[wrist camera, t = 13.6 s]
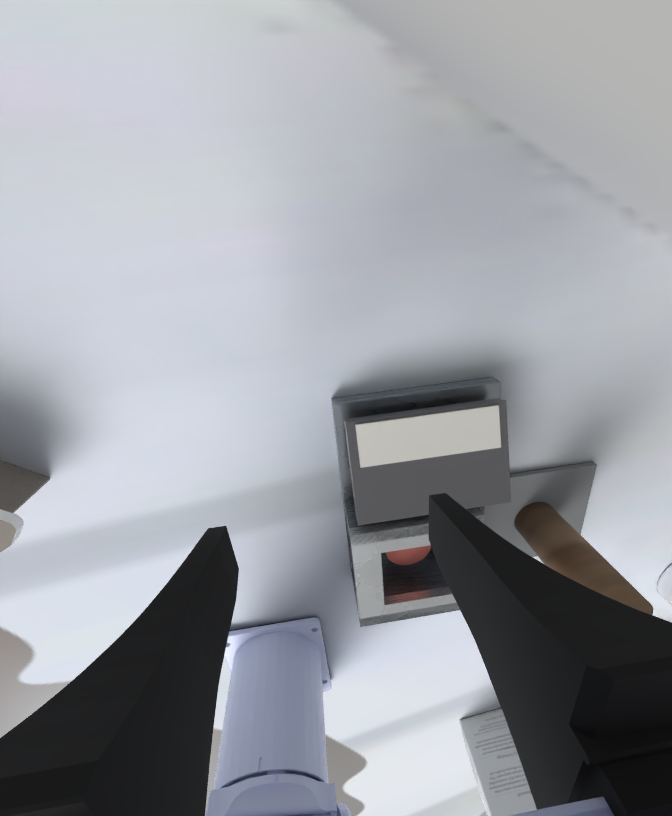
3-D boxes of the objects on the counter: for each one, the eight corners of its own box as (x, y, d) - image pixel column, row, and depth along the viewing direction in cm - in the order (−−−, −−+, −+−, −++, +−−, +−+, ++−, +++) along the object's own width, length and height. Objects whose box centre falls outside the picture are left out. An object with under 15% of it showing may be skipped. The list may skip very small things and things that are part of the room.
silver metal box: (477, 556, 28) (504, 602, 24) (351, 576, 27) (360, 626, 24) (492, 376, 22) (532, 401, 18) (331, 398, 21) (338, 428, 18)
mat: (573, 545, 28) (576, 549, 28) (476, 561, 28) (479, 565, 28) (592, 461, 25) (596, 464, 25) (483, 478, 25) (486, 481, 24)
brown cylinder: (548, 531, 27) (643, 634, 20) (511, 536, 27) (592, 641, 19) (556, 499, 26) (660, 596, 18) (517, 504, 26) (607, 604, 18)
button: (423, 544, 26) (430, 561, 25) (381, 551, 26) (386, 568, 25) (423, 510, 25) (431, 526, 24) (379, 517, 25) (384, 533, 23)
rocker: (501, 495, 21) (512, 503, 20) (356, 517, 21) (358, 526, 20) (496, 398, 21) (507, 400, 19) (344, 419, 20) (346, 422, 19)
